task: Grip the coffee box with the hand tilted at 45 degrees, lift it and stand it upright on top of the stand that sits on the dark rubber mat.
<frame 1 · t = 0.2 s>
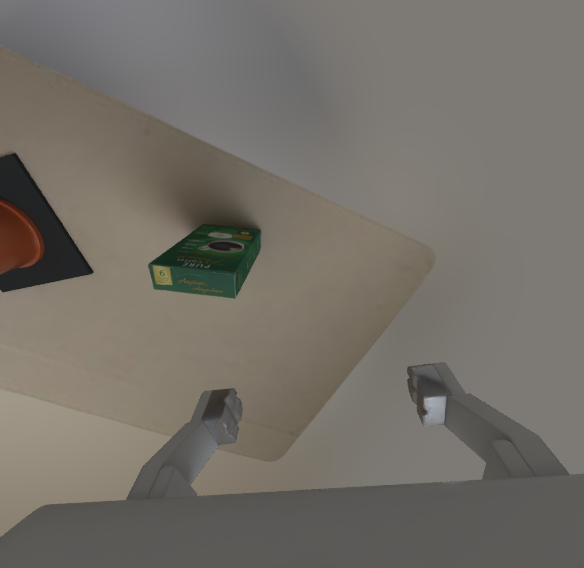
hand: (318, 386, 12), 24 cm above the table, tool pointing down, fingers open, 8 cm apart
mat: (10, 231, 35), on the table
coffee box: (232, 235, 34), on the table
stand: (6, 232, 35), resting on mat
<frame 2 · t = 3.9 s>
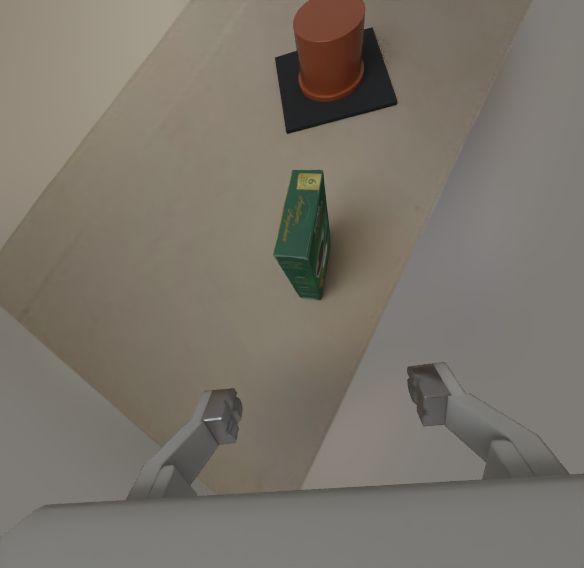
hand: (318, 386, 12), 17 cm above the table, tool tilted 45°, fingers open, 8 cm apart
mat: (330, 80, 39), on the table
coffee box: (315, 268, 32), on the table
stand: (330, 77, 39), resting on mat
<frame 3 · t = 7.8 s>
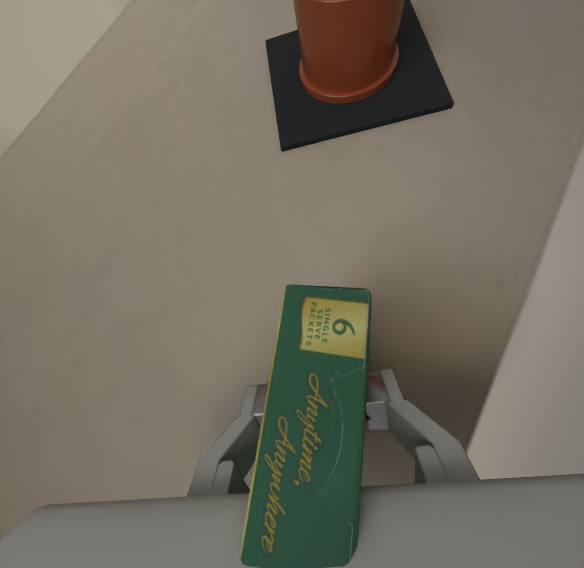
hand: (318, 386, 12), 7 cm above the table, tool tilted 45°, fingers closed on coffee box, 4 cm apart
mat: (346, 72, 27), on the table
coffee box: (328, 383, 19), on the table, touching gripper
stand: (347, 67, 26), resting on mat
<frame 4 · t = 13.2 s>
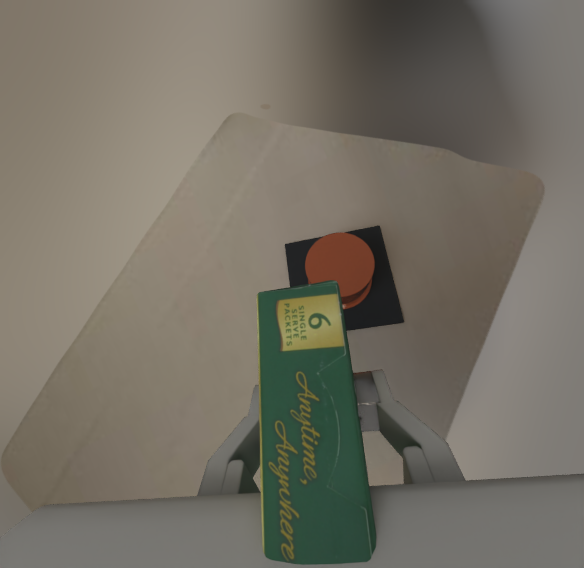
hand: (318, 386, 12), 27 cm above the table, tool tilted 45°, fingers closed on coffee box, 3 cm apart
mat: (339, 280, 41), on the table
coffee box: (327, 384, 19), point 19 cm above the table, touching gripper
stand: (339, 279, 40), resting on mat
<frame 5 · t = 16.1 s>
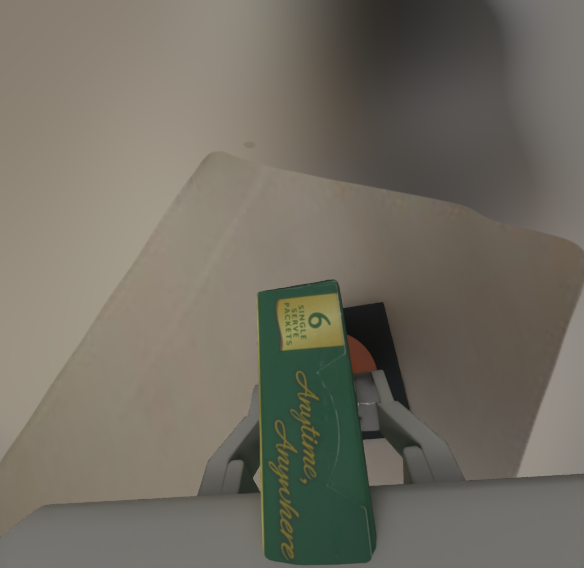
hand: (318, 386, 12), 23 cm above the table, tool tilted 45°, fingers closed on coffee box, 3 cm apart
mat: (334, 371, 33), on the table
coffee box: (327, 384, 19), point 15 cm above the table, touching gripper
stand: (334, 371, 33), resting on mat
when the fingers open (15 cm above the table, at t = 18.4 s): coffee box stays where it is, resting on stand.
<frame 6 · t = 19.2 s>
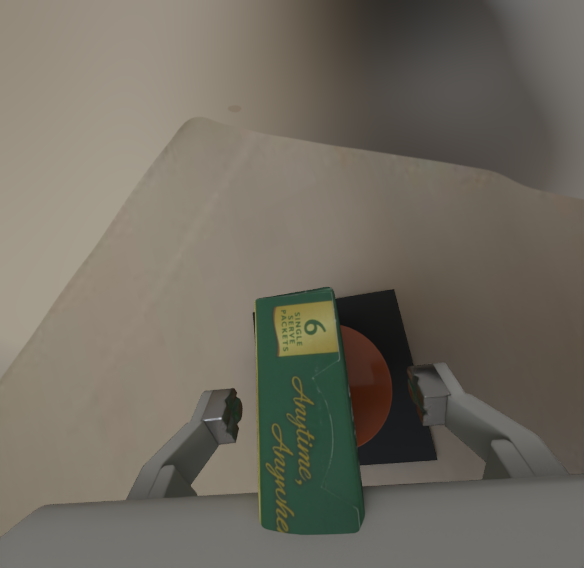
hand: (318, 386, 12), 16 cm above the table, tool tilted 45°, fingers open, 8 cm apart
mat: (332, 376, 27), on the table
coffee box: (328, 384, 19), point 8 cm above the table, touching stand
stand: (332, 376, 26), resting on mat
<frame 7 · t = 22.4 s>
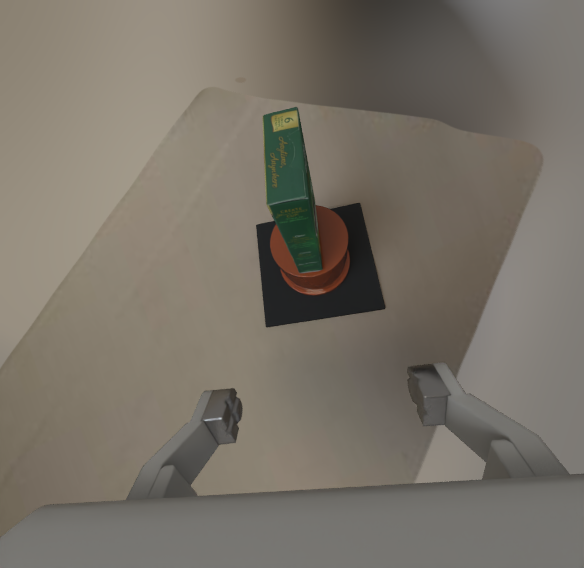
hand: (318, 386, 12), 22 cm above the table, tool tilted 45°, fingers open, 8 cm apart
mat: (314, 263, 37), on the table
coffee box: (307, 240, 29), point 8 cm above the table, touching stand
stand: (314, 262, 36), resting on mat
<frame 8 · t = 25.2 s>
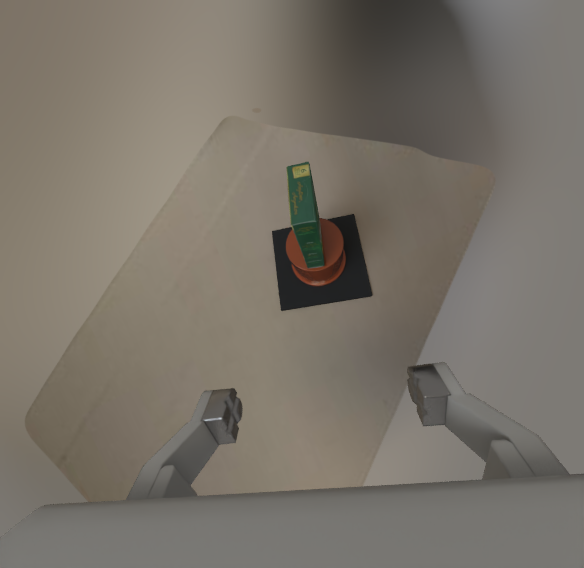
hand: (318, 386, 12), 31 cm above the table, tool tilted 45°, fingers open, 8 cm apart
mat: (318, 261, 47), on the table
coffee box: (313, 244, 40), point 8 cm above the table, touching stand
stand: (318, 260, 46), resting on mat
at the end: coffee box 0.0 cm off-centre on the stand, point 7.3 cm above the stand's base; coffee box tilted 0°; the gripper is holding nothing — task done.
